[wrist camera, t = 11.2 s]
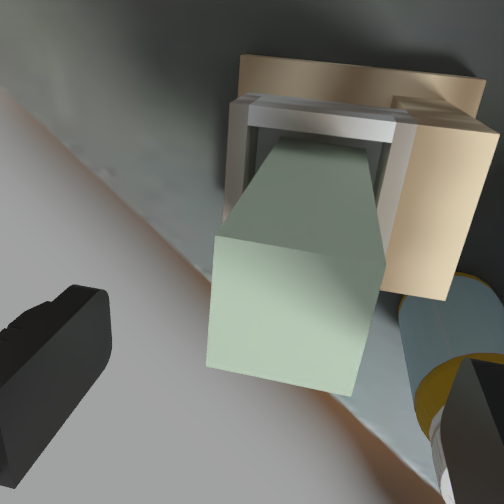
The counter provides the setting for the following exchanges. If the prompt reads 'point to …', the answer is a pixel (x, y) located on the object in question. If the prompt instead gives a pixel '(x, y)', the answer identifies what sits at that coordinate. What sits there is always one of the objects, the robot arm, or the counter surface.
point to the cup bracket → (376, 150)
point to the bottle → (447, 351)
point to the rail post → (298, 269)
